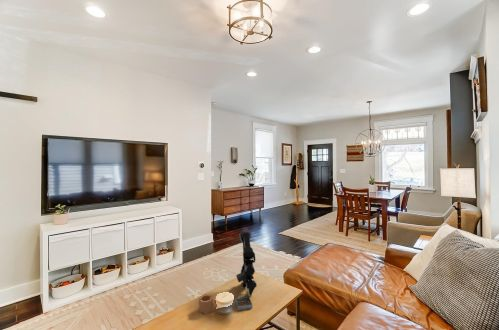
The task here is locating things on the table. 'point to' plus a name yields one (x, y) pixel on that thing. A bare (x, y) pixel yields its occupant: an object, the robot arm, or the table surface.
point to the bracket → (207, 304)
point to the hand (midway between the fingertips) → (248, 291)
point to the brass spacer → (247, 292)
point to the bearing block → (243, 307)
